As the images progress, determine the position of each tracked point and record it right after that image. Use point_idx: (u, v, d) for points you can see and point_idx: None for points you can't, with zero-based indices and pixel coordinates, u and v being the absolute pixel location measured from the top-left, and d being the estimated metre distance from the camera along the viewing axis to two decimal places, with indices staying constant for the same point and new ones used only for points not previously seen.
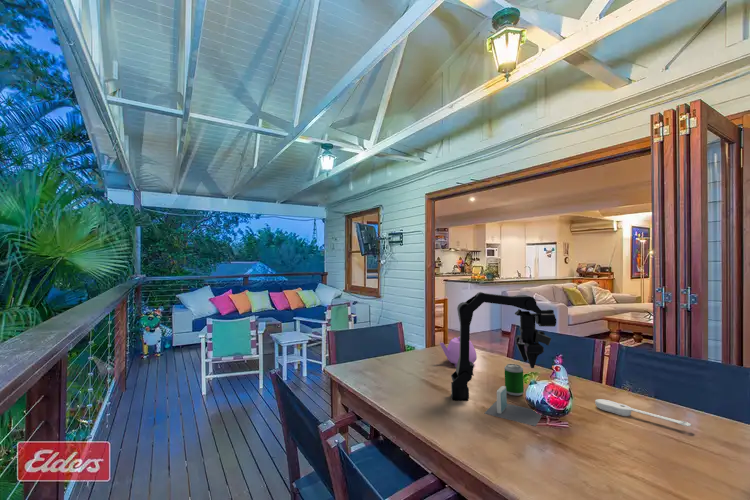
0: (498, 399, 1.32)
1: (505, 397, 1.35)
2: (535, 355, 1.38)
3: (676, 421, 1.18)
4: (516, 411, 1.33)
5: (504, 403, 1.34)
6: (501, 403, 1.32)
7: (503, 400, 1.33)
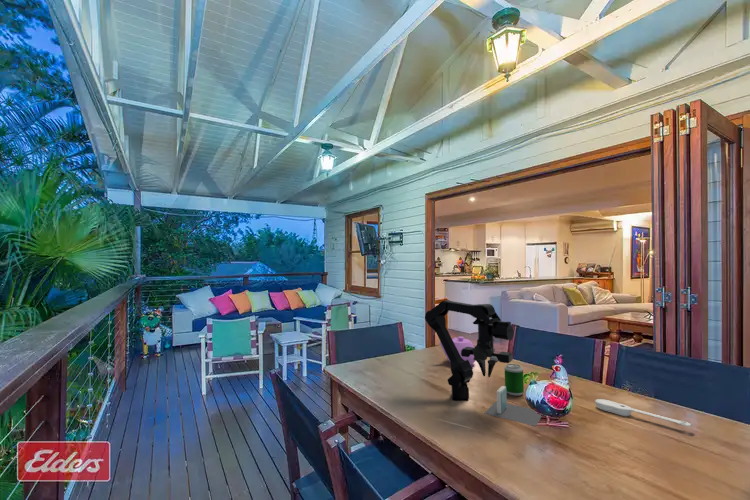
0: (498, 399, 1.32)
1: (505, 397, 1.35)
2: None
3: (676, 421, 1.18)
4: (516, 411, 1.33)
5: (504, 403, 1.34)
6: (501, 403, 1.32)
7: (503, 400, 1.33)
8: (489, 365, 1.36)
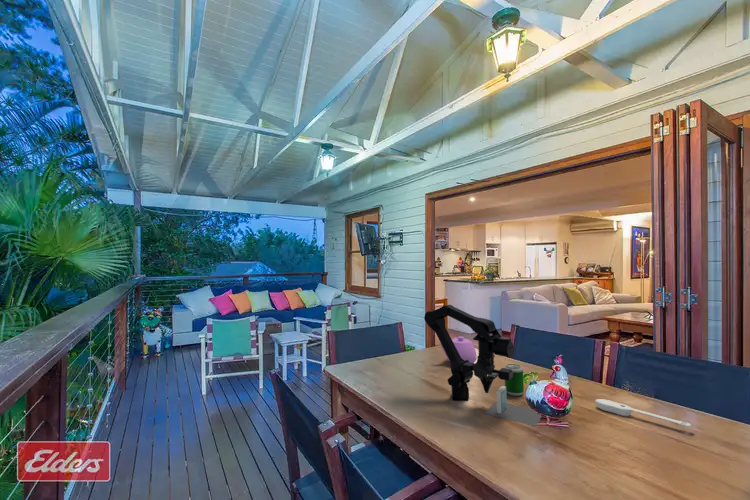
0: (498, 399, 1.32)
1: (505, 397, 1.35)
2: None
3: (676, 421, 1.18)
4: (516, 411, 1.33)
5: (504, 403, 1.34)
6: (501, 403, 1.32)
7: (503, 400, 1.33)
8: (487, 381, 1.36)
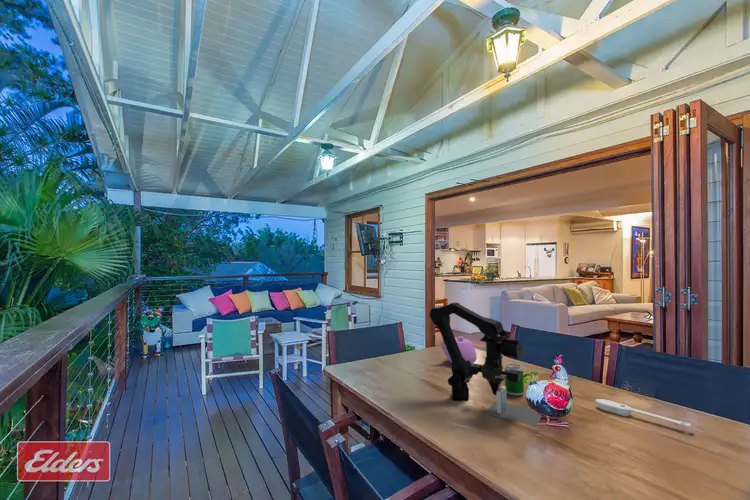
0: (498, 399, 1.32)
1: (505, 397, 1.35)
2: None
3: (676, 421, 1.18)
4: (516, 411, 1.33)
5: (504, 403, 1.34)
6: (501, 403, 1.32)
7: (503, 400, 1.33)
8: (496, 383, 1.34)
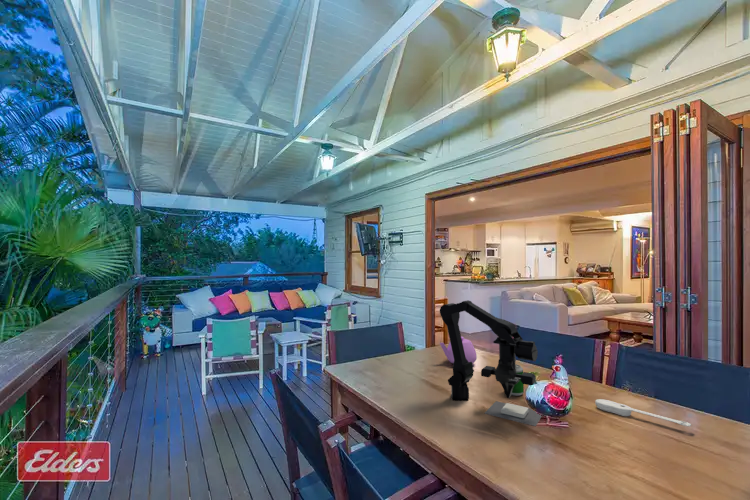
0: (515, 414, 1.28)
1: None
2: None
3: (676, 421, 1.18)
4: None
5: None
6: (511, 415, 1.29)
7: None
8: (509, 386, 1.31)
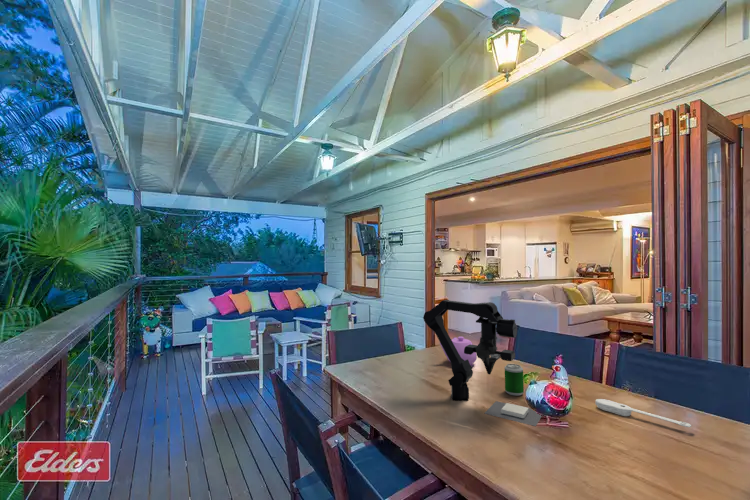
0: (515, 414, 1.28)
1: None
2: None
3: (676, 422, 1.18)
4: None
5: None
6: (511, 415, 1.29)
7: None
8: (490, 362, 1.38)
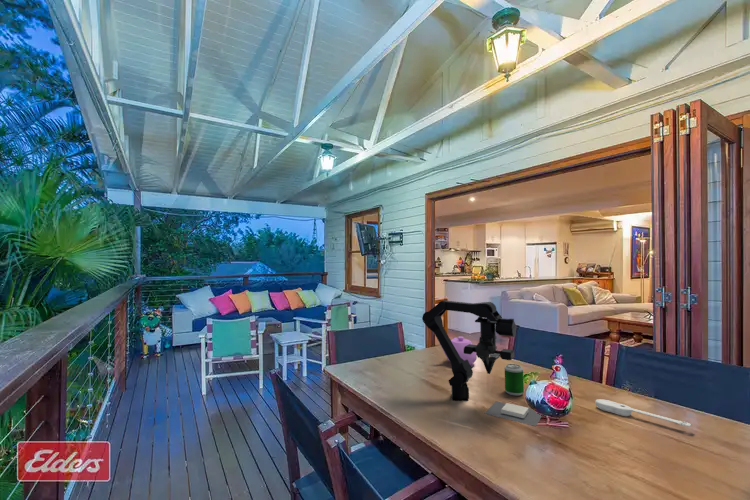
0: (515, 414, 1.28)
1: None
2: None
3: (676, 421, 1.18)
4: None
5: None
6: (511, 415, 1.29)
7: None
8: (489, 362, 1.38)
